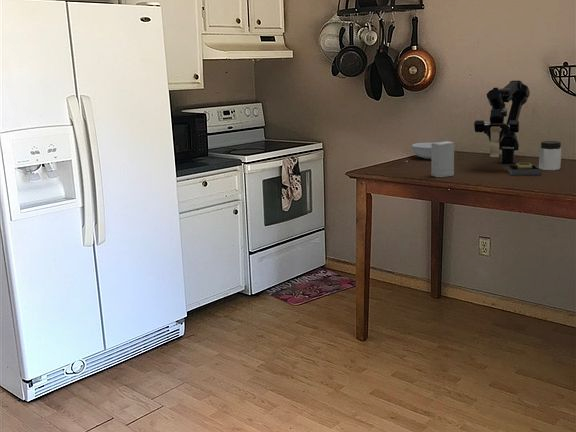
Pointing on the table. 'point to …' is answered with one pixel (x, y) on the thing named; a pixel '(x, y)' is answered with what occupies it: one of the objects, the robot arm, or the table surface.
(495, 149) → the tan square peg
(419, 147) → the serving bowl
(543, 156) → the jar
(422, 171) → the table surface
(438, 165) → the skincare box
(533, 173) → the gray square tray
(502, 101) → the robot arm
